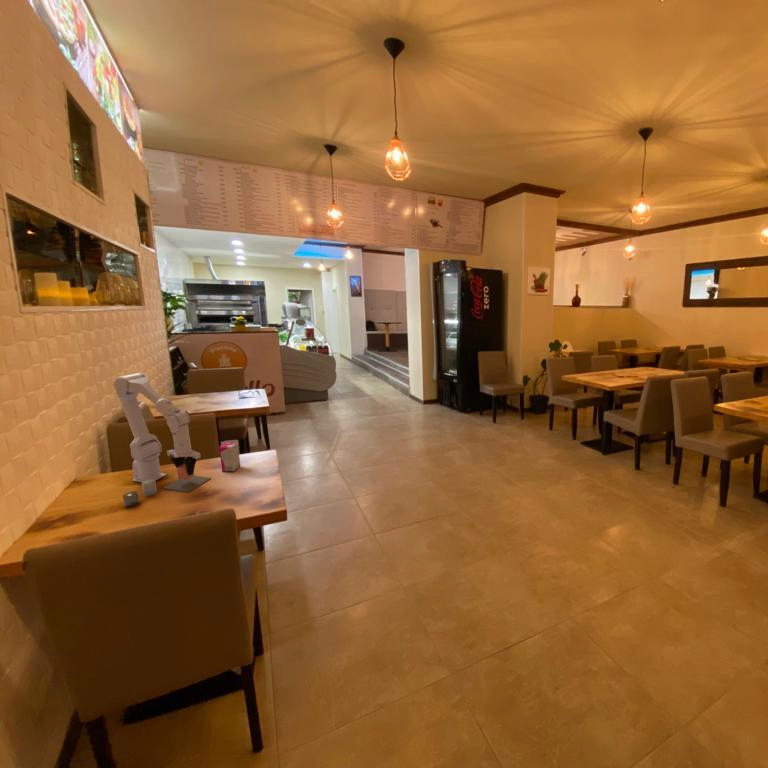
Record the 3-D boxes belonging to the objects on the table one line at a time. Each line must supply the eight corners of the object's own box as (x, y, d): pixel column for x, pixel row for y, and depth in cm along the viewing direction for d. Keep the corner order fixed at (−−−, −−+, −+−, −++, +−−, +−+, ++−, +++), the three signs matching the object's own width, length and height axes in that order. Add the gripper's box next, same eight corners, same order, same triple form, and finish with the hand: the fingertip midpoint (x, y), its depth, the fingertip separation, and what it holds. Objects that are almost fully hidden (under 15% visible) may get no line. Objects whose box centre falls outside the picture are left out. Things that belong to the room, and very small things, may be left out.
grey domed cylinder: (140, 495, 138) (138, 483, 137) (151, 489, 142) (149, 478, 141) (149, 497, 137) (147, 484, 136) (159, 491, 141) (158, 479, 140)
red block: (178, 479, 144) (176, 467, 143) (186, 474, 148) (184, 463, 147) (186, 480, 143) (184, 468, 142) (194, 475, 147) (192, 464, 146)
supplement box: (240, 466, 162) (238, 442, 159) (234, 472, 156) (231, 447, 154) (228, 466, 162) (225, 441, 160) (221, 472, 156) (218, 447, 154)
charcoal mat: (163, 488, 142) (163, 488, 142) (187, 475, 154) (187, 474, 154) (188, 492, 139) (187, 491, 139) (210, 478, 150) (210, 477, 150)
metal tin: (121, 506, 130) (119, 496, 129) (133, 500, 134) (131, 490, 133) (130, 508, 129) (129, 498, 128) (142, 502, 133) (140, 492, 132)
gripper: (158, 443, 141) (163, 475, 144) (188, 446, 137) (193, 480, 140) (173, 437, 147) (178, 468, 150) (202, 440, 143) (206, 472, 146)
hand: (186, 473), depth 145 cm, fingers closed on red block, 4 cm apart
